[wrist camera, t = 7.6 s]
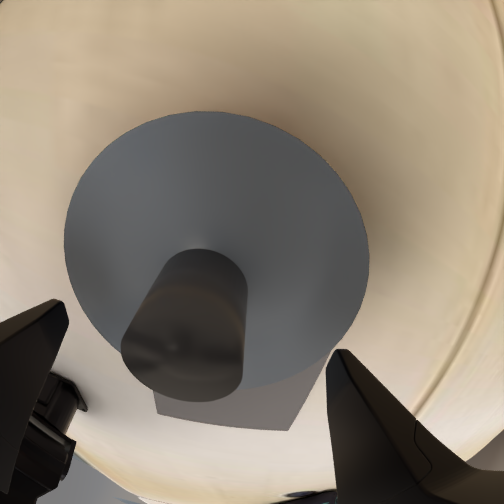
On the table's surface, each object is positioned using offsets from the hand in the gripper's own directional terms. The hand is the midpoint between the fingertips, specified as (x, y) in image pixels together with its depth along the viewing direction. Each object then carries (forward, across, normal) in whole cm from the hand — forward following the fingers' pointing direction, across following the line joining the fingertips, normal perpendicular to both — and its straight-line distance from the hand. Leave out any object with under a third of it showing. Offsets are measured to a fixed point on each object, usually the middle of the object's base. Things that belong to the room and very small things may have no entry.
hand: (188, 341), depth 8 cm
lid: (+4, 0, 0) cm, 4 cm away
